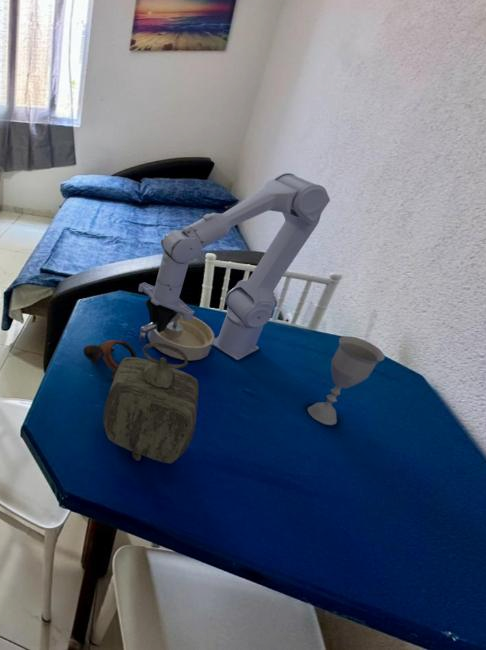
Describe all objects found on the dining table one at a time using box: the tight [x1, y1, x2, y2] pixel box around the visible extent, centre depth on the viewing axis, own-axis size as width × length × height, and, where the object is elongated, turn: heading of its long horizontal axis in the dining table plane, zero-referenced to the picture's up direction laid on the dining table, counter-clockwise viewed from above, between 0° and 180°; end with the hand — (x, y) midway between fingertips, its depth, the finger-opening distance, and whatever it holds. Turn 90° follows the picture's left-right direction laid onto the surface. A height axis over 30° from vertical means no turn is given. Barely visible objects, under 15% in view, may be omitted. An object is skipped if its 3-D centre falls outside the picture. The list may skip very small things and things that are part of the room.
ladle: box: [137, 314, 183, 347], centre depth 102 cm, size 15×4×6 cm, turn 120°
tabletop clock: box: [102, 342, 200, 464], centre depth 70 cm, size 14×9×25 cm, turn 64°
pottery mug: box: [83, 340, 138, 381], centre depth 95 cm, size 12×10×8 cm
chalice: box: [307, 335, 386, 426], centre depth 81 cm, size 7×7×18 cm
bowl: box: [146, 315, 215, 361], centre depth 104 cm, size 15×15×4 cm
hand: (157, 328), depth 101 cm, fingers closed on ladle
